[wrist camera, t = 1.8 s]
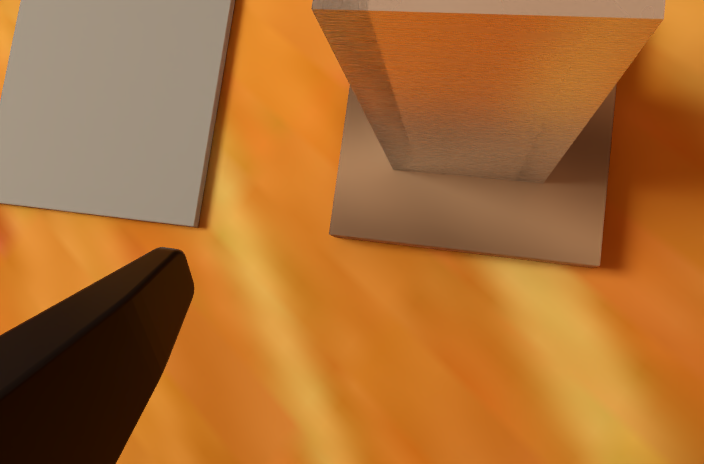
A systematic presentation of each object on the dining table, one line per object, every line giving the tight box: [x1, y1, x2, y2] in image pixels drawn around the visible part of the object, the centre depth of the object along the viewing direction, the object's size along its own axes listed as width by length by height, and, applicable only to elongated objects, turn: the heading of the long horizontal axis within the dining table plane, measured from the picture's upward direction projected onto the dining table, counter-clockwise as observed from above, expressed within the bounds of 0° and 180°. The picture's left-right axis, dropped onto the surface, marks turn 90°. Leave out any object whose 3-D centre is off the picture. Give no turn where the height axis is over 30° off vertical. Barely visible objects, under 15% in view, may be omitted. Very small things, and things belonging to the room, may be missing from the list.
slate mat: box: [0, 0, 235, 227], centre depth 25 cm, size 11×11×1 cm
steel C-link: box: [312, 0, 665, 183], centre depth 15 cm, size 4×6×12 cm
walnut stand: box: [329, 83, 617, 268], centre depth 19 cm, size 10×10×5 cm
